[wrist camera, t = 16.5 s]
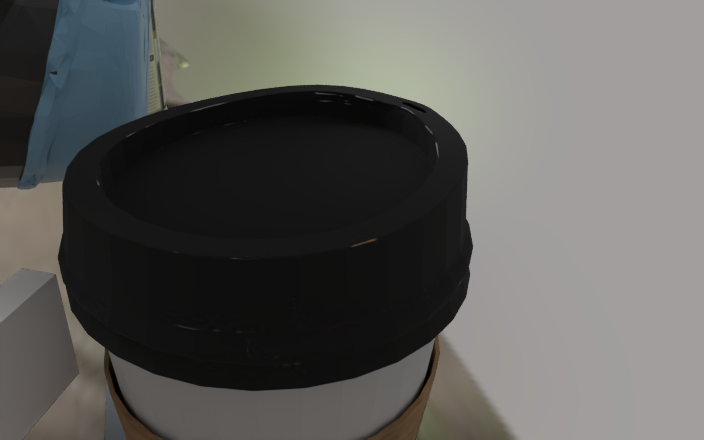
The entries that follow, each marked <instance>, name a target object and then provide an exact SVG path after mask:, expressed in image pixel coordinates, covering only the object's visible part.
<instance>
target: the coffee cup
mask: <svg viewBox="0 0 704 440" xmlns="http://www.w3.org/2000/svg"><path fill="white" fill-rule="evenodd" d="M466 149H467V148H466V145H465V143H464V141H463V140H462V138H461V136H460V134H459V133H458V132H457V131H456V129H455V128H454V127H453V126H452V125H451V124H450V123H449V122H448V121H446V120H445V119H444V118H443V117H442V116H440V115H439V114H438V113H436V112H435V111H434V110H432V109H431V108H429V107H427V106H425V105H423V104H420V103H417V102H413V101H410V100H407V99H403V98H399V97H396V96H392V95H388V94H384V93H380V92H375V91H371V90H366V89H360V88H353V87H346V86H331V85H300V86H285V87H277V88H268V89H260V90H254V91H248V92H241V93H235V94H230V95H225V96H220V97H215V98H210V99H206V100H201V101H197V102H193V103H189V104H185V105H181V106H177V107H173V108H170V109H166V110H163V111H160V112H156V113H153V114H150V115H146V116H144V117H141V118H139V119H136V120H133V121H131V122H128V123H126V124H123V125H120V126H118V127H116V128H114V129H112V130H110V131H109V132H107V133H105V134H103V135H101V136H99V137H97V138H96V139H94V140H93V141H92V142H90V143H89V144H88V145H86V146H85V147H84V148H83V149H81V150H80V151H79V152H78V153H77V155H76V156H75V157H74V159H73V160H72V161H71V162H70V164H69V165H68V166H67V169H66V173H65V177H64V180H63V186H62V192H63V234H62V239H61V244H60V249H59V254H58V261H59V265H60V270H61V274H62V279H63V282H64V284H65V285H66V290H67V294H68V298H69V302H70V307H71V311H72V312H73V313H74V315H75V316H76V318H77V319H78V321H79V322H80V324H81V325H82V326H83V328H84V329H85V331H86V332H87V334H88V335H90V336H91V337H92V338H93V339H95V340H96V341H97V342H98V343H100V344H101V345H102V346H104V347H105V356H104V372H105V376H106V380H107V383H108V387H109V391H110V394H111V397H112V400H113V402H114V405H115V408H116V411H117V413H118V416H119V419H120V422H121V424H122V427H123V430H124V433H125V435H126V438H127V440H416V437H417V434H418V430H419V427H420V424H421V421H422V417H423V414H424V411H425V407H426V404H427V401H428V397H429V394H430V391H431V387H432V384H433V381H434V378H435V373H436V369H437V364H438V359H439V355H440V351H439V340H438V334H439V333H440V332H441V331H442V330H443V329H444V328H445V327H446V326H447V325H448V324H449V323H450V322H451V321H452V320H453V319H454V317H455V316H456V314H457V312H458V310H459V308H460V307H461V305H462V303H463V301H464V300H465V298H466V295H467V289H468V283H469V278H470V271H469V264H470V259H471V254H472V249H473V244H472V238H471V233H470V227H469V223H468V221H467V220H466V200H467V199H466V198H467V170H468V157H467V150H466Z"/></svg>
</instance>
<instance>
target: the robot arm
mask: <svg viewBox="0 0 704 440" xmlns="http://www.w3.org/2000/svg"><path fill="white" fill-rule="evenodd" d="M150 22H151V0H0V188H6V187H18V189H31V188H35V187H36V186H37V185H38V184H39V183H48V182H59V181H63V180H64V177H65V173H66V169H67V166H68V165H69V164H70V162H71V161H72V160H73V159H74V157H75V156H76V155H77V153H78V152H79V151H80V150H81V149H83V148H84V147H85V146H86V145H88V144H89V143H90V142H92V141H93V140H94V139H96V138H97V137H99V136H101V135H103V134H105V133H107V132H109V131H110V130H112V129H114V128H116V127H118V126H120V125H123V124H126V123H128V122H131V121H133V120H136V119H139V118H141V117H144V116H146V115H148V97H149V70H150ZM78 374H79V369H78V365H77V361H76V357H75V352H74V348H73V344H72V340H71V336H70V332H69V327H68V323H67V319H66V315H65V311H64V307H63V302H62V298H61V294H60V290H59V286H58V281H57V277H56V274H53V273H47V272H41V271H35V270H30V269H24V268H22V269H21V270H20V271H18V272H17V273H16V274H15V275H13V276H12V277H11V278H10V279H8V280H7V281H6V282H5V283H3V284H2V285H1V286H0V440H23V438H24V437H25V436H26V435H27V434H28V432H29V431H30V430H31V429H32V428H33V427H34V425H35V424H36V423H37V422H38V421H39V420H40V418H41V417H42V416H43V415H44V414H45V412H46V411H47V410H48V409H49V408H50V407H51V405H52V404H53V403H54V402H55V401H56V400H57V398H58V397H59V396H60V395H61V394H62V392H63V391H64V390H65V389H66V388H67V387H68V385H69V384H70V383H71V382H72V381H73V380H74V378H75V377H76V376H77V375H78Z"/></svg>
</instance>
